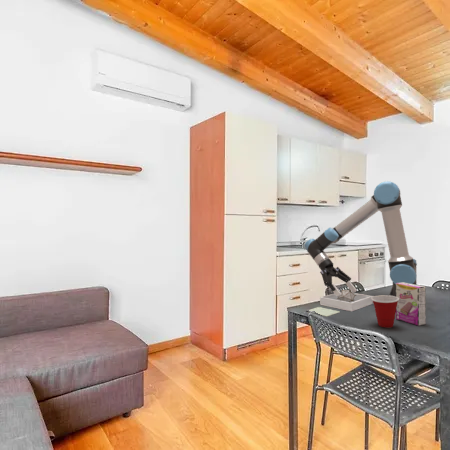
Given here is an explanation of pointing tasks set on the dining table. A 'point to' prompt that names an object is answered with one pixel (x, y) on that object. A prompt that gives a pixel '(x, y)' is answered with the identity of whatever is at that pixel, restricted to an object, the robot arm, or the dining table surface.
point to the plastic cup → (385, 309)
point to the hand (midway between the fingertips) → (347, 293)
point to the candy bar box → (411, 303)
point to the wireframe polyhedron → (346, 296)
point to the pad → (324, 311)
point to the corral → (334, 302)
